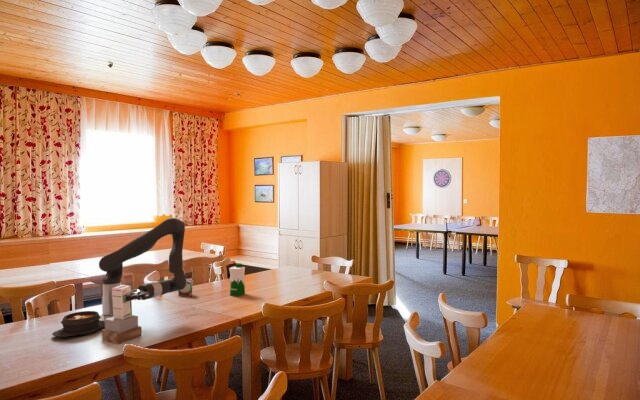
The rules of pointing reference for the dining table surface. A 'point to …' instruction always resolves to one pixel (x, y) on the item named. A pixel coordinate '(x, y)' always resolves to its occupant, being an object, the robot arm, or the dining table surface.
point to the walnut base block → (121, 335)
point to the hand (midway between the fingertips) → (120, 297)
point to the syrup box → (121, 302)
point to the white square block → (121, 324)
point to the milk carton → (237, 280)
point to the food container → (187, 289)
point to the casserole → (80, 324)
